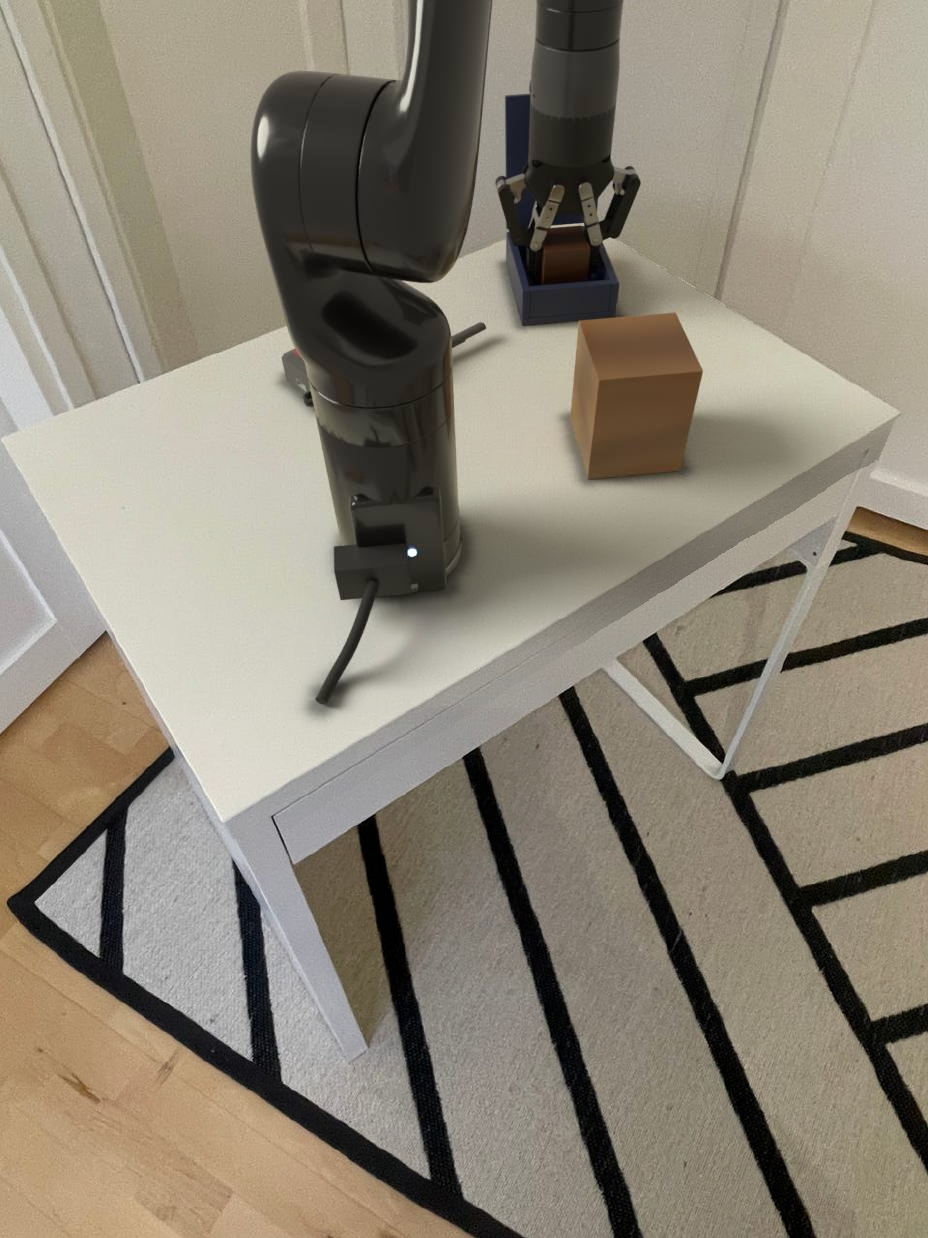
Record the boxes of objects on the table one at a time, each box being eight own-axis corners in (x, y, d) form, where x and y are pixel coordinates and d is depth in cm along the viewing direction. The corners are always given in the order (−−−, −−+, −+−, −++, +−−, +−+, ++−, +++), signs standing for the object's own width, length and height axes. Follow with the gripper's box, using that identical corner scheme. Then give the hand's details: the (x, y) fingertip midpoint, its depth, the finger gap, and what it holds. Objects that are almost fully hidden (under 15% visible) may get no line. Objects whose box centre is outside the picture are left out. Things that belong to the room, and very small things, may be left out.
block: (586, 290, 87) (590, 247, 83) (542, 294, 87) (544, 251, 83) (578, 266, 90) (581, 224, 86) (535, 270, 89) (537, 228, 86)
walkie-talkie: (323, 428, 77) (491, 342, 85) (315, 388, 74) (491, 301, 81) (272, 383, 81) (437, 305, 89) (262, 343, 78) (434, 265, 85)
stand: (680, 470, 72) (703, 370, 64) (587, 479, 72) (598, 380, 64) (657, 411, 77) (675, 311, 69) (569, 419, 77) (578, 320, 69)
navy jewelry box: (615, 317, 87) (619, 282, 84) (521, 325, 86) (522, 291, 83) (592, 258, 94) (595, 224, 91) (505, 265, 93) (506, 231, 90)
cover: (604, 89, 82) (594, 78, 86) (505, 96, 82) (499, 85, 85) (596, 222, 90) (587, 207, 94) (506, 229, 90) (500, 214, 93)
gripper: (497, 119, 72) (497, 304, 85) (664, 107, 72) (638, 292, 86) (486, 84, 76) (487, 264, 90) (643, 72, 77) (621, 253, 91)
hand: (561, 277), depth 88 cm, fingers closed on block, 4 cm apart
